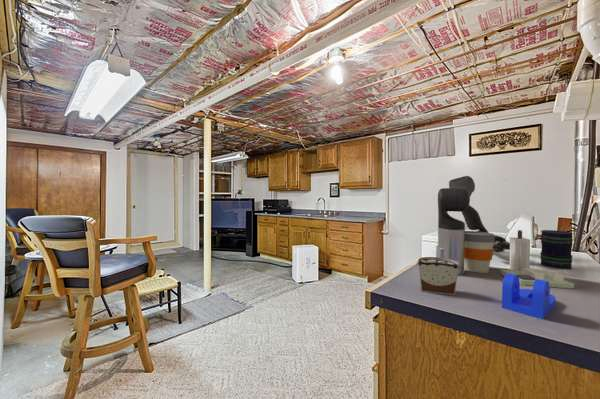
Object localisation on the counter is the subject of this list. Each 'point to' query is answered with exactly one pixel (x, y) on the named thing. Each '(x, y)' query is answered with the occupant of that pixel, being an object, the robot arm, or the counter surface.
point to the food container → (438, 274)
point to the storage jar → (556, 249)
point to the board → (540, 277)
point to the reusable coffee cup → (478, 251)
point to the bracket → (527, 297)
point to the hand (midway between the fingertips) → (512, 249)
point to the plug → (519, 253)
